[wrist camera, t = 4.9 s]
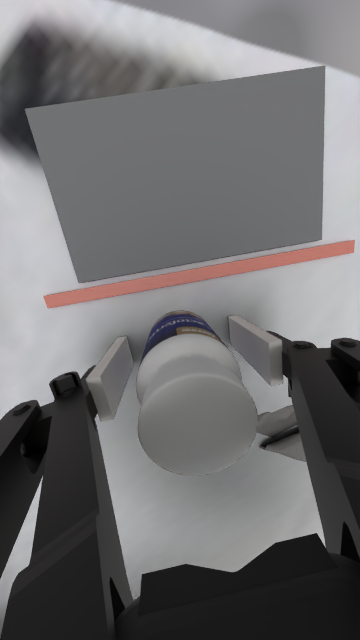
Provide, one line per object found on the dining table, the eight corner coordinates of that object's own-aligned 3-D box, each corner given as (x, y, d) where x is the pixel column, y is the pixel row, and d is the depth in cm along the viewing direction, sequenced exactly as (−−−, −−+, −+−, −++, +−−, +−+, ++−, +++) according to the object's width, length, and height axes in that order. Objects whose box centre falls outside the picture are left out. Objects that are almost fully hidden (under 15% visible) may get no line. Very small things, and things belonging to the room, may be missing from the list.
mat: (81, 282, 15) (78, 283, 14) (30, 115, 12) (24, 108, 11) (316, 240, 15) (321, 239, 15) (319, 73, 13) (325, 65, 12)
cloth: (445, 423, 22) (476, 439, 20) (373, 498, 25) (393, 520, 23) (286, 333, 18) (303, 341, 16) (215, 436, 20) (221, 456, 18)
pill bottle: (200, 300, 16) (257, 339, 6) (217, 357, 17) (284, 462, 7) (138, 321, 16) (96, 393, 6) (160, 376, 17) (154, 505, 7)
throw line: (50, 307, 15) (47, 308, 14) (46, 295, 15) (43, 296, 14) (349, 253, 16) (354, 252, 15) (349, 240, 15) (354, 239, 15)
